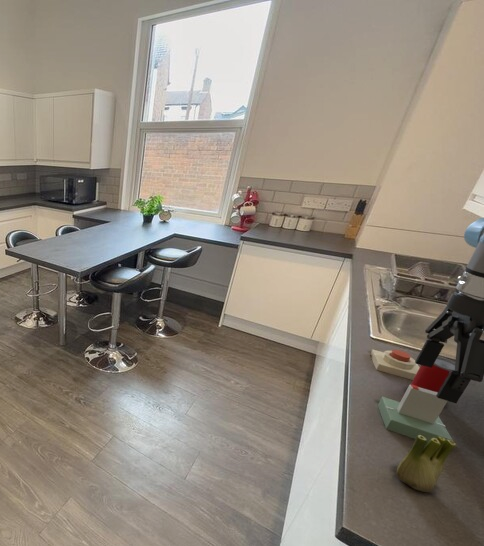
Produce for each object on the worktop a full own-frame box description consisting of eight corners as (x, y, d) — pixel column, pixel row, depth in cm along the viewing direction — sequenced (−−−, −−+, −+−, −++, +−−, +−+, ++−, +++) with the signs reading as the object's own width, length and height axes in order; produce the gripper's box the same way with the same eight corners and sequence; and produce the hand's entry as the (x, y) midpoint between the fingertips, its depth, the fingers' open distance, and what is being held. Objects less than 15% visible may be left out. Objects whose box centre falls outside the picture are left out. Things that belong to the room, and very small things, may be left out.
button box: (412, 366, 96) (417, 355, 95) (422, 382, 89) (428, 371, 88) (369, 355, 101) (374, 344, 100) (376, 369, 94) (381, 359, 93)
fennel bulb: (392, 481, 62) (418, 437, 57) (390, 464, 65) (414, 421, 61) (435, 501, 58) (466, 456, 54) (429, 481, 62) (458, 438, 57)
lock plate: (432, 422, 76) (438, 413, 74) (447, 450, 69) (454, 440, 67) (376, 405, 81) (381, 395, 79) (385, 429, 74) (390, 419, 72)
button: (406, 357, 94) (408, 352, 94) (410, 364, 91) (412, 359, 91) (388, 352, 96) (390, 348, 96) (392, 359, 93) (394, 354, 93)
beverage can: (445, 403, 82) (467, 366, 77) (440, 414, 78) (462, 375, 74) (409, 387, 87) (428, 352, 83) (403, 397, 83) (422, 360, 79)
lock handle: (431, 419, 73) (446, 393, 70) (433, 424, 71) (449, 398, 68) (396, 408, 76) (409, 383, 73) (398, 413, 74) (412, 387, 71)
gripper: (432, 273, 73) (395, 348, 81) (485, 315, 54) (430, 409, 62) (479, 280, 70) (436, 358, 78) (555, 329, 50) (486, 426, 58)
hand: (433, 381), depth 70 cm, fingers open, 13 cm apart
